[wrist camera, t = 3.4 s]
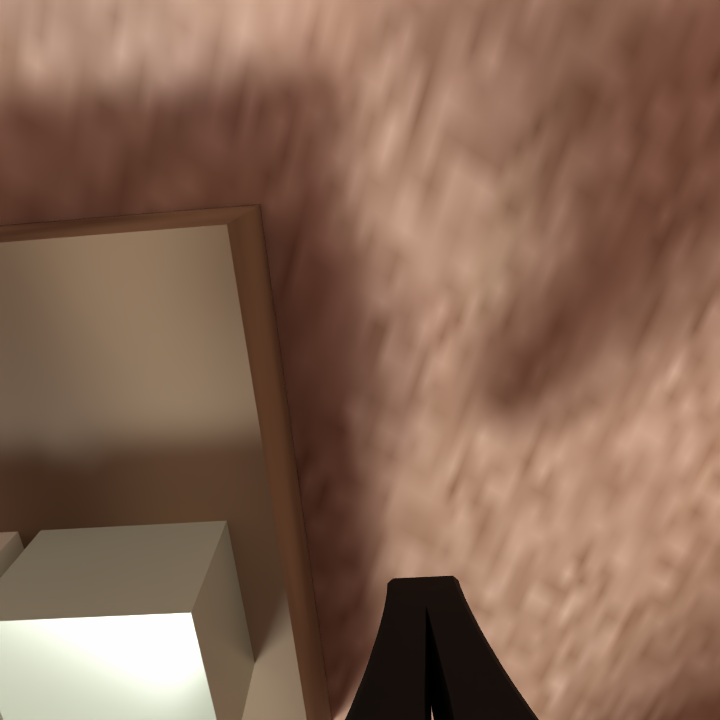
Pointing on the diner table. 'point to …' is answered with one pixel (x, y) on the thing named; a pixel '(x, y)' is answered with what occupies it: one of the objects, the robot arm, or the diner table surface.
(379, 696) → the robot arm
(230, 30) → the diner table surface
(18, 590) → the tile
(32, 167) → the diner table surface
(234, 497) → the board
